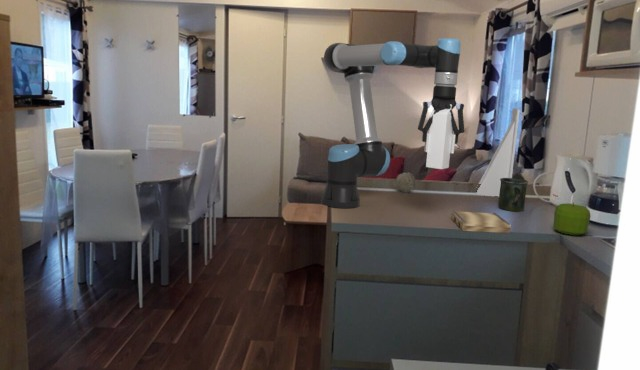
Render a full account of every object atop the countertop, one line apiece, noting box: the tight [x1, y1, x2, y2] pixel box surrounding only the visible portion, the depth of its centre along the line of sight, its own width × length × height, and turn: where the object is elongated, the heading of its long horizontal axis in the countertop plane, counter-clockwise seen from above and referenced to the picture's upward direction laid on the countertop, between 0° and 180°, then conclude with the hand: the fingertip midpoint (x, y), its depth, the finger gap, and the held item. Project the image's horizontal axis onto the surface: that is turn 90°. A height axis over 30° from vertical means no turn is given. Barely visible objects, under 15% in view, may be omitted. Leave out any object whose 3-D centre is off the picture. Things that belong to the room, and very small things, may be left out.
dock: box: [450, 210, 512, 234], centre depth 185 cm, size 16×16×3 cm
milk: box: [425, 104, 455, 170], centre depth 182 cm, size 6×6×22 cm
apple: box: [553, 202, 591, 236], centre depth 181 cm, size 11×11×11 cm
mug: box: [497, 177, 529, 212], centre depth 214 cm, size 11×15×12 cm
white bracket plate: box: [475, 108, 521, 198], centre depth 244 cm, size 20×14×40 cm
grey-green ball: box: [393, 172, 416, 193], centre depth 242 cm, size 9×8×10 cm
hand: (438, 152), depth 183 cm, fingers closed on milk, 8 cm apart
